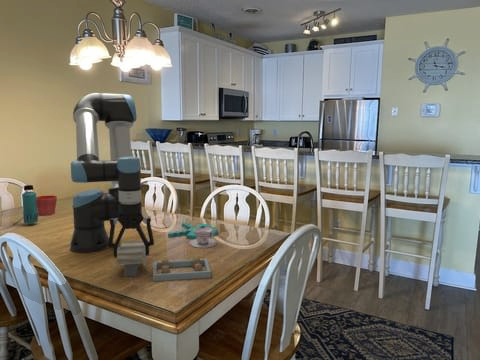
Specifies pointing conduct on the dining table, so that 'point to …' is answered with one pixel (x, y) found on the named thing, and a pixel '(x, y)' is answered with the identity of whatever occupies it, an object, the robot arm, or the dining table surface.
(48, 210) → the flower pot
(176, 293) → the dining table surface
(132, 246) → the grey flat block
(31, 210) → the beverage bottle
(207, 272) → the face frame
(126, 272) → the block
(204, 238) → the teacup
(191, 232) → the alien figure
